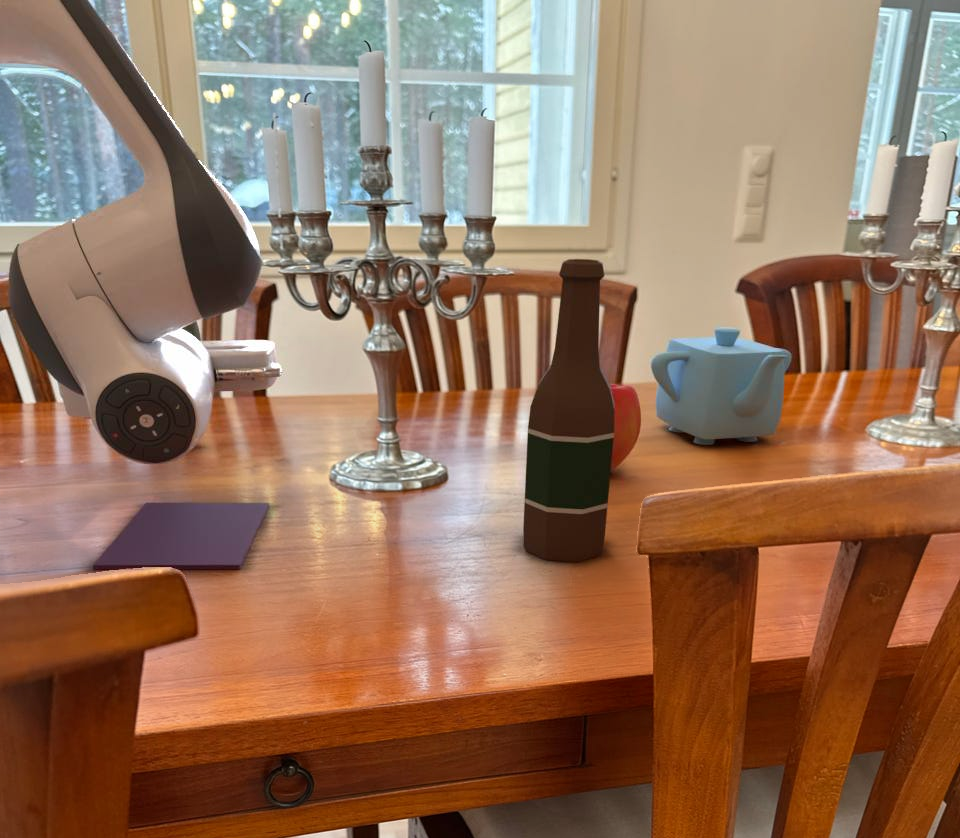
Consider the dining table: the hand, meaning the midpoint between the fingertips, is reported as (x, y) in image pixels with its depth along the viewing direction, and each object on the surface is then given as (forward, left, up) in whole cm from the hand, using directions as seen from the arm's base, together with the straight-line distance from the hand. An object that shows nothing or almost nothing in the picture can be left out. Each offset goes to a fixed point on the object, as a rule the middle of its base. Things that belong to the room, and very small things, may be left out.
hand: (173, 351), depth 91 cm
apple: (+45, +3, -13) cm, 47 cm away
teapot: (+64, +18, -13) cm, 68 cm away
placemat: (+4, -18, -13) cm, 23 cm away
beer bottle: (+38, -21, -13) cm, 45 cm away
